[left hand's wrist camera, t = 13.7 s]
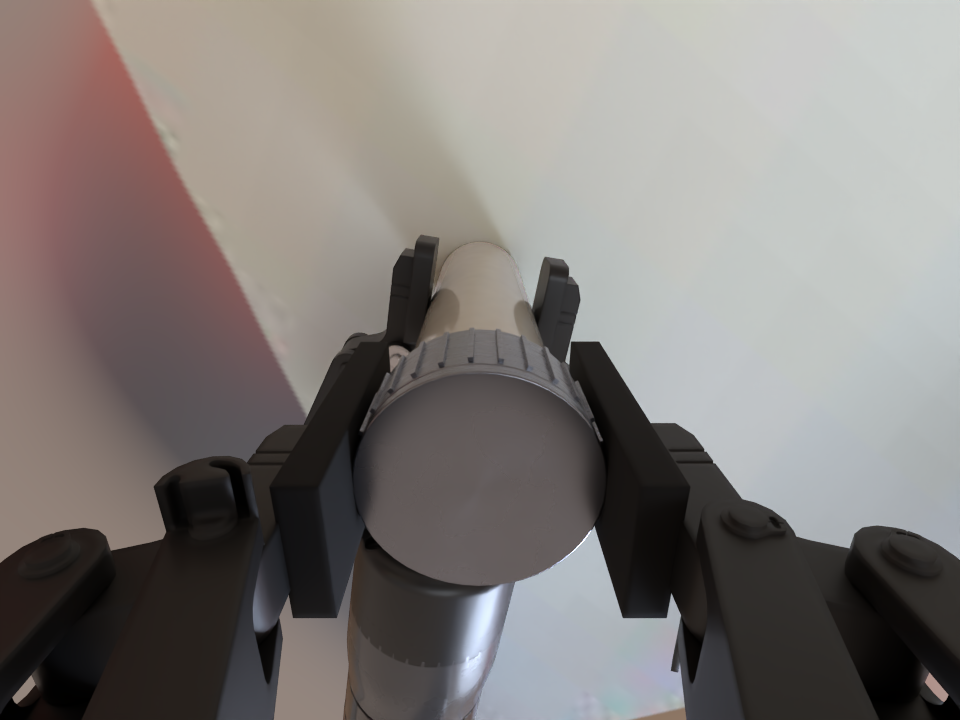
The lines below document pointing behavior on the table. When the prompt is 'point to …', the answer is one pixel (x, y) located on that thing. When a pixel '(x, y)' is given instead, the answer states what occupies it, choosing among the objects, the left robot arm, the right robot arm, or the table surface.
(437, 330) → the jar
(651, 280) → the table surface
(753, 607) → the left robot arm
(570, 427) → the lid
